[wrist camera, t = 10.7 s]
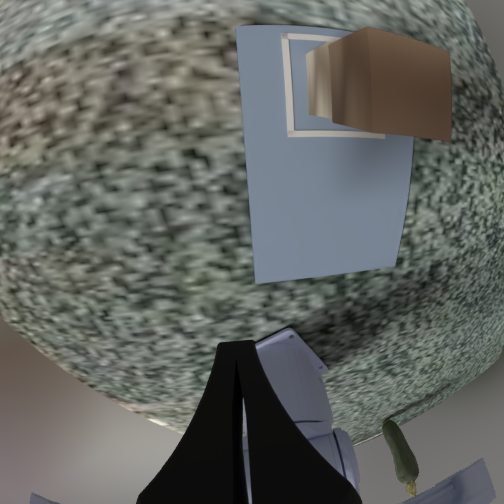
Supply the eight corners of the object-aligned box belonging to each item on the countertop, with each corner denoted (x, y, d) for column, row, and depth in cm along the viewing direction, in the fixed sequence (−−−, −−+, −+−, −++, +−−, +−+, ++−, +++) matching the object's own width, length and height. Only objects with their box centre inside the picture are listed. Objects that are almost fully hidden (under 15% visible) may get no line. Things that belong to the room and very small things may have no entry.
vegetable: (379, 417, 41) (407, 501, 24) (399, 409, 41) (429, 491, 24) (377, 424, 43) (402, 502, 26) (396, 417, 43) (423, 493, 26)
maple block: (367, 117, 15) (400, 124, 12) (309, 114, 15) (332, 118, 11) (365, 60, 13) (398, 53, 10) (305, 54, 13) (327, 41, 9)
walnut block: (400, 127, 12) (450, 142, 8) (332, 122, 12) (371, 133, 8) (398, 57, 10) (449, 52, 6) (328, 45, 9) (366, 26, 6)
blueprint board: (391, 262, 22) (395, 266, 21) (255, 278, 21) (255, 284, 21) (406, 46, 13) (412, 45, 12) (235, 28, 12) (235, 25, 12)
